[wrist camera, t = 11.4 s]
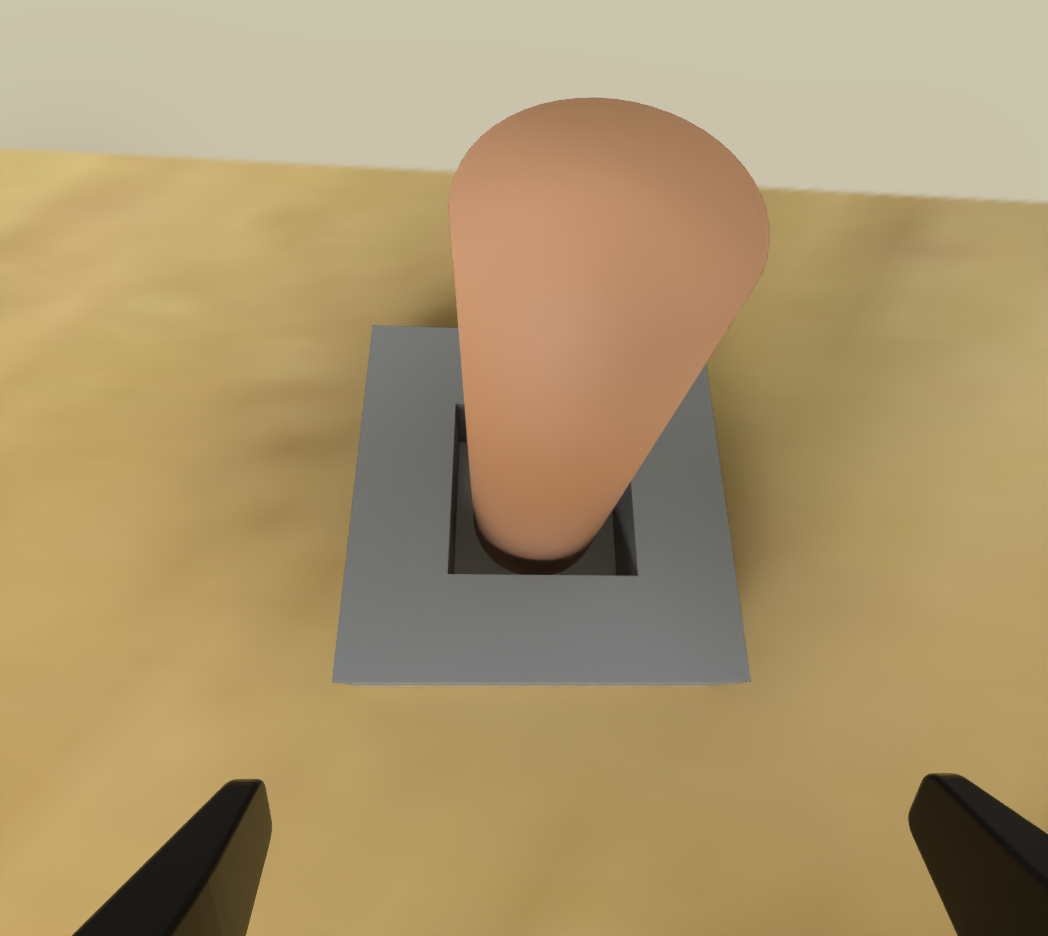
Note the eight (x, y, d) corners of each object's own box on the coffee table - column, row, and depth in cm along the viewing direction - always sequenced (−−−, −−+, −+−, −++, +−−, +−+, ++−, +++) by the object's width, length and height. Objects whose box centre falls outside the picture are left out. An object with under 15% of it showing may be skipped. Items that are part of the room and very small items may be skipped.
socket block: (707, 686, 20) (750, 681, 16) (358, 686, 19) (332, 682, 16) (673, 386, 24) (702, 335, 21) (388, 378, 23) (372, 325, 20)
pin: (504, 598, 20) (534, 395, 7) (454, 486, 21) (401, 142, 8) (617, 545, 21) (834, 279, 8) (562, 442, 22) (667, 69, 9)
